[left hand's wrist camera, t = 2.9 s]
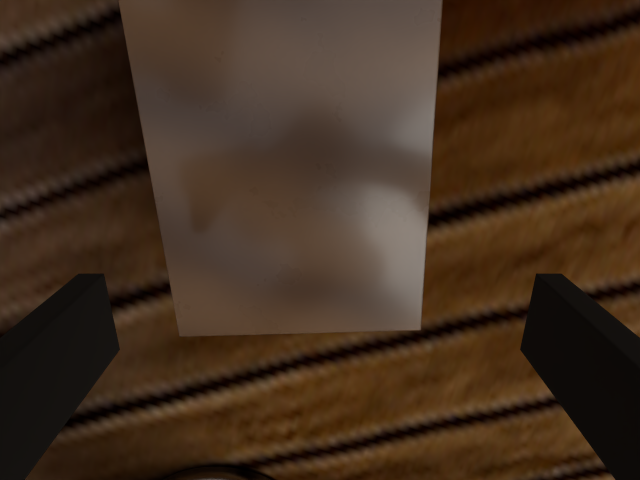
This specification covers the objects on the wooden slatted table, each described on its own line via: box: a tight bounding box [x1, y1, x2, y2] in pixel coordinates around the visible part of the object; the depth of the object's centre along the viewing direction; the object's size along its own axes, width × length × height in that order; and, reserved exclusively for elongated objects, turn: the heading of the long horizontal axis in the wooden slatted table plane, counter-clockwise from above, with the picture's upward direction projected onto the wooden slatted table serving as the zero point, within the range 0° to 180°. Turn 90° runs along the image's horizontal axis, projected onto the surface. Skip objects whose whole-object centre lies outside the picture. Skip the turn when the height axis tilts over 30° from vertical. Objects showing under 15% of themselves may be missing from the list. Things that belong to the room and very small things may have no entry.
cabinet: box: [118, 0, 443, 337], centre depth 20 cm, size 19×11×9 cm, turn 2°
